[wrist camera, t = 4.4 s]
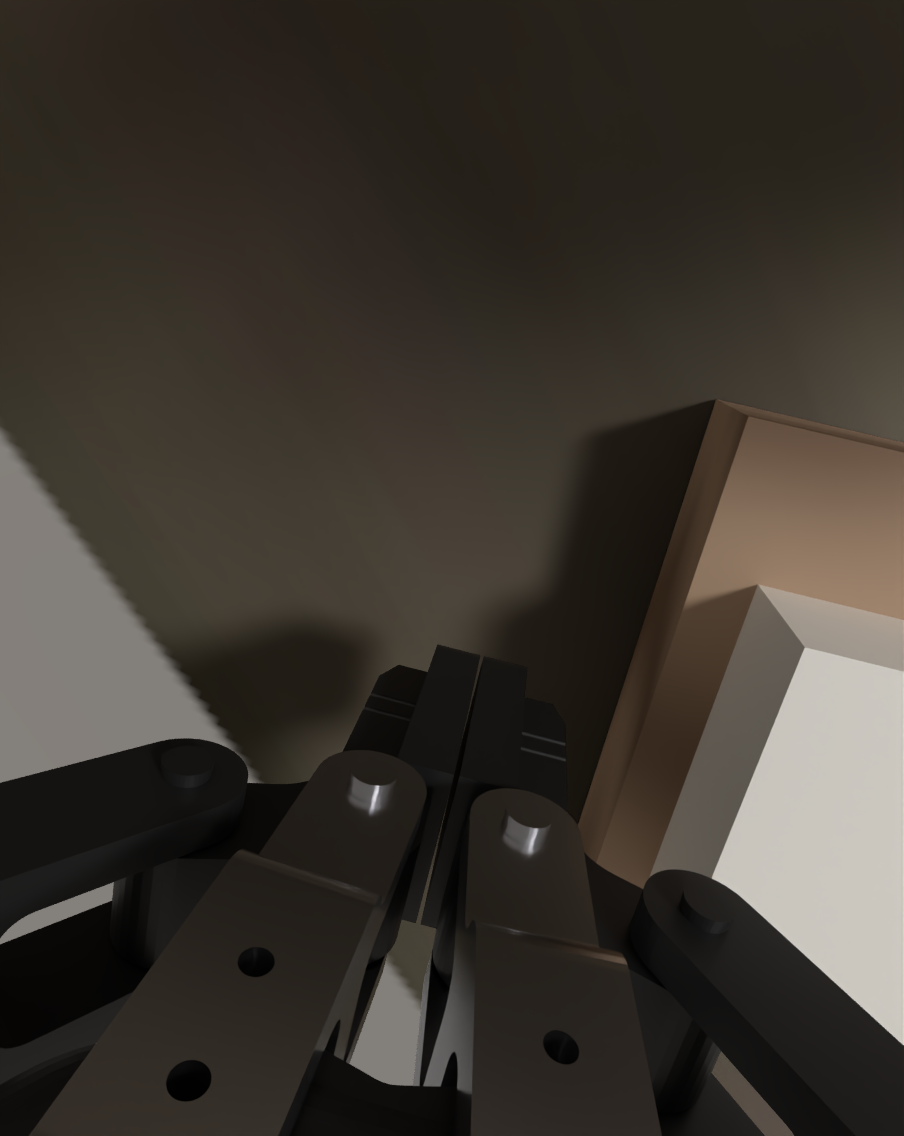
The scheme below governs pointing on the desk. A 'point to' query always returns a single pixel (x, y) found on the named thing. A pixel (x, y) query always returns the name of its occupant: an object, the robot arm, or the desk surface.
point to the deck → (738, 597)
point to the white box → (808, 790)
